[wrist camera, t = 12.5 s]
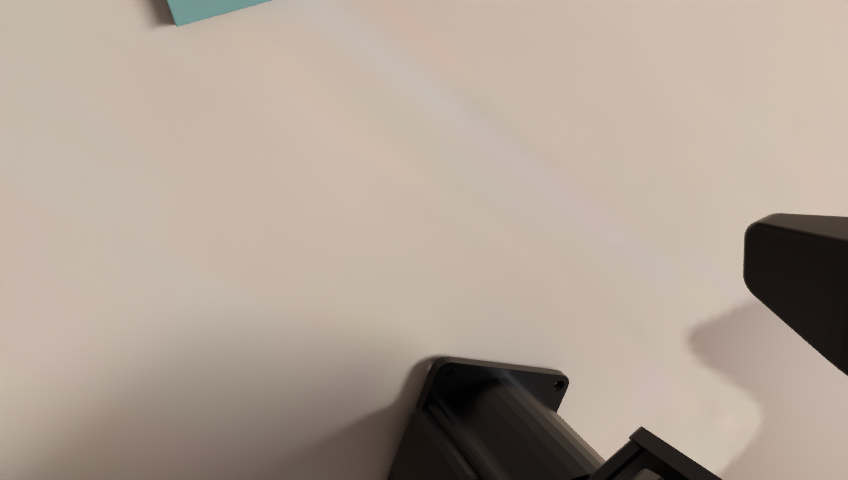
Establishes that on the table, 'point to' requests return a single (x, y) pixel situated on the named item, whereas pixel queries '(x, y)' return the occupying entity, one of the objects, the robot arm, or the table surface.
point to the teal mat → (205, 8)
